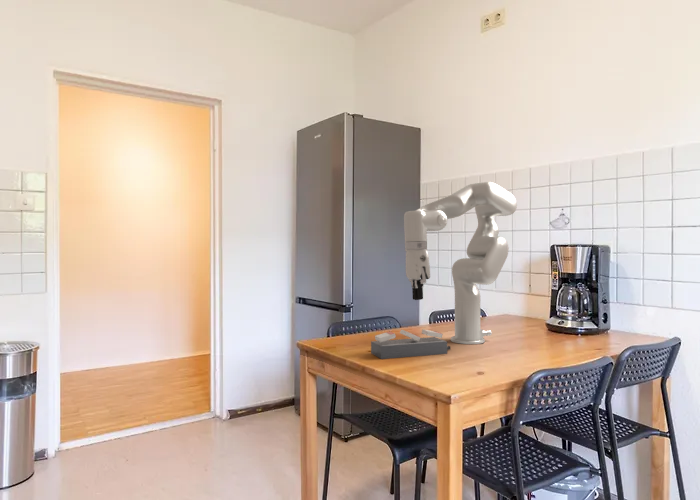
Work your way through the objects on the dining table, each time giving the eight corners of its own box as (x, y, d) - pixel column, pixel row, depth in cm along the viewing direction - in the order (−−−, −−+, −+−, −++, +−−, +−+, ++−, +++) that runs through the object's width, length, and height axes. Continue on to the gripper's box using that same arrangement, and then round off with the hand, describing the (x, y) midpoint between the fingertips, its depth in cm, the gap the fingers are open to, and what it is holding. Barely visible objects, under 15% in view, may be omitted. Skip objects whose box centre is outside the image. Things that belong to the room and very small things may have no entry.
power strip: (443, 347, 173) (443, 335, 173) (456, 352, 165) (456, 340, 165) (371, 353, 165) (371, 340, 165) (381, 359, 156) (380, 345, 156)
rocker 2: (413, 338, 167) (414, 334, 167) (418, 341, 163) (420, 337, 163) (399, 333, 165) (401, 328, 166) (405, 335, 161) (406, 331, 161)
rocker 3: (435, 335, 170) (436, 331, 170) (441, 337, 166) (442, 333, 166) (421, 333, 168) (422, 328, 168) (427, 335, 164) (428, 331, 164)
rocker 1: (390, 335, 164) (389, 330, 164) (395, 337, 160) (394, 333, 160) (375, 339, 163) (374, 335, 163) (380, 342, 159) (379, 337, 158)
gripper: (436, 246, 162) (438, 301, 163) (415, 245, 176) (417, 296, 177) (416, 247, 159) (418, 303, 160) (396, 246, 174) (398, 297, 174)
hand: (417, 299), depth 168 cm, fingers closed
